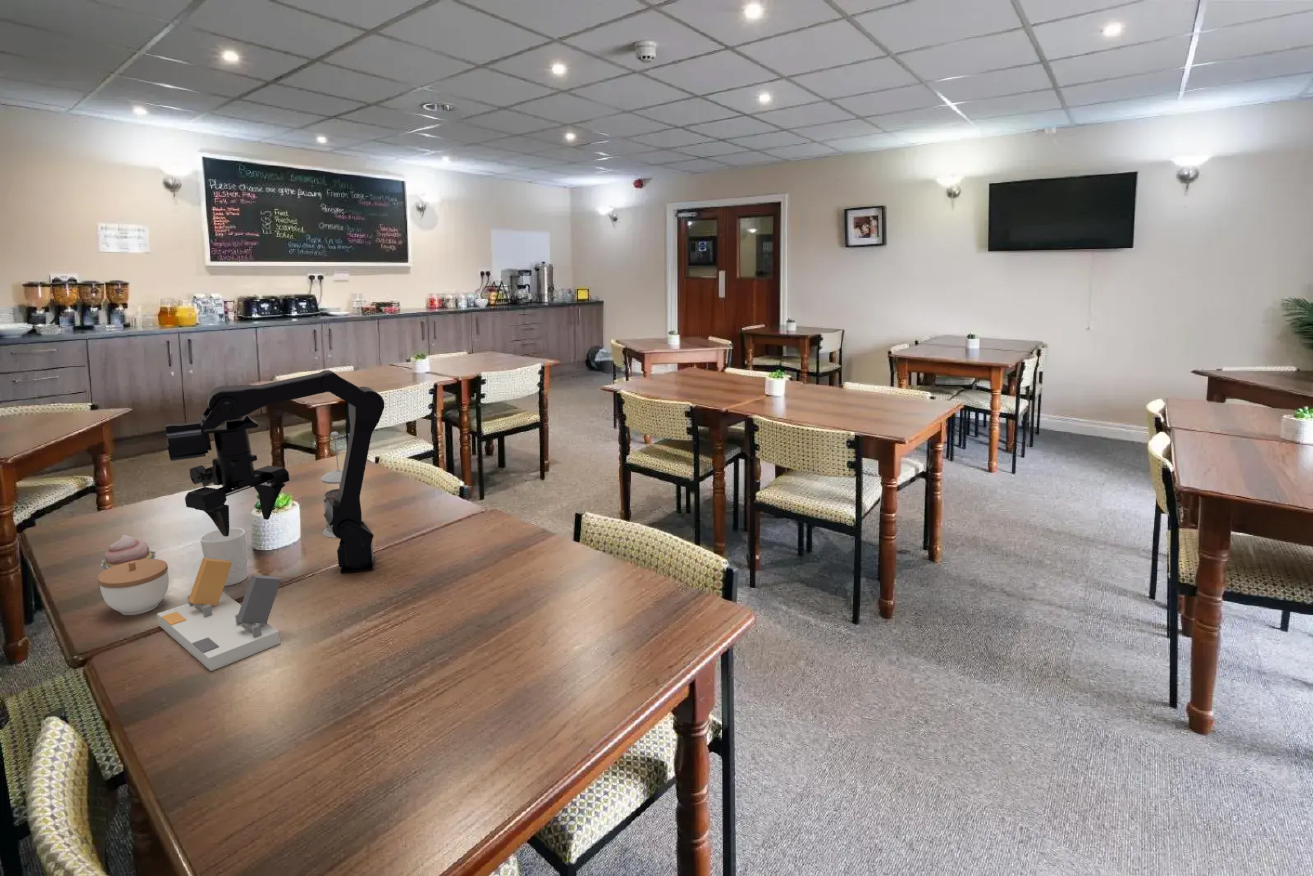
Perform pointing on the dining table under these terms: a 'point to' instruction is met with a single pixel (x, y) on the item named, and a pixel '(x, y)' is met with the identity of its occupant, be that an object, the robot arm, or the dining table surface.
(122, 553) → the cupcake
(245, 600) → the charcoal rocker
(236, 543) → the white cup
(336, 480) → the french press
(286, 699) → the dining table surface
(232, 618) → the switch console
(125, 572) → the lidded jar
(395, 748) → the dining table surface
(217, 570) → the orange rocker
